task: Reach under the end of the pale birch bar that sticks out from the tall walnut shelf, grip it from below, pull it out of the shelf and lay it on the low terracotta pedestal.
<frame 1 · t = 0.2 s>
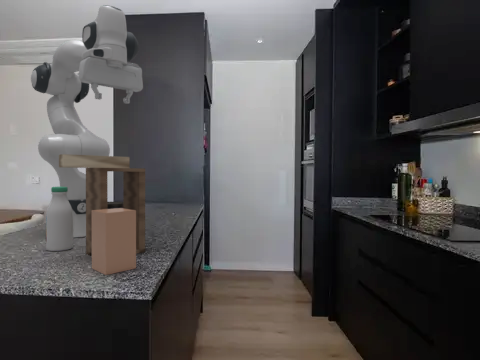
hand: (112, 101, 109), 48 cm above the counter, tool pointing down, fingers open, 8 cm apart
bar: (96, 167, 97), point 26 cm above the counter, touching shelf
shelf: (116, 253, 102), on the counter
pedestal: (113, 268, 86), on the counter
milk bottle: (59, 249, 108), on the counter
coffee can: (110, 243, 118), on the counter
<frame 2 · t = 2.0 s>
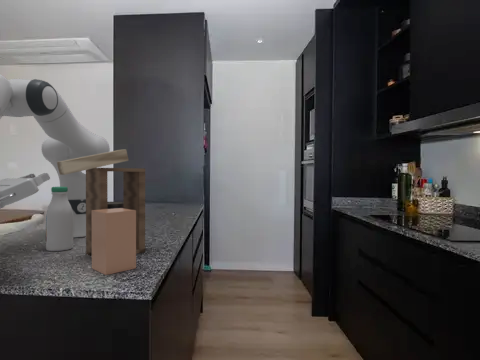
hand: (41, 175, 86), 24 cm above the counter, tool pointing upward, fingers open, 8 cm apart
bar: (96, 167, 97), point 26 cm above the counter, tilted 13°, touching shelf
everything else where it was.
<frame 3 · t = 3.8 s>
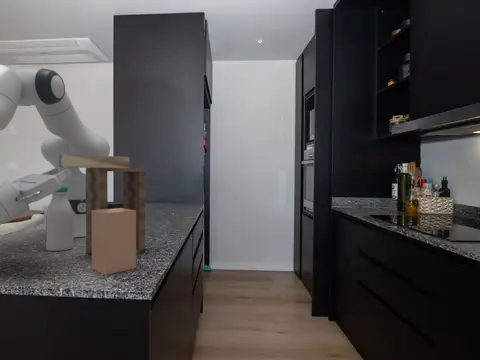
hand: (63, 170, 91), 25 cm above the counter, tool pointing upward, fingers open, 8 cm apart
bar: (96, 167, 97), point 26 cm above the counter, touching shelf
everything else where it was.
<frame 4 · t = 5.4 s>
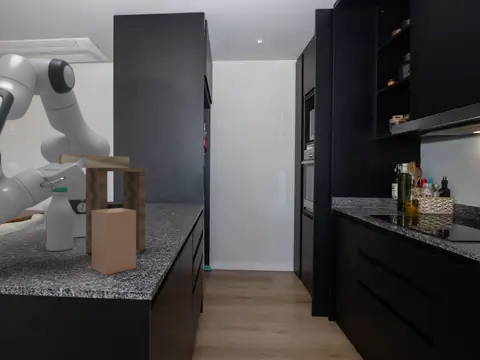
hand: (83, 159, 95), 28 cm above the counter, tool pointing upward, fingers closed on bar, 3 cm apart
bar: (96, 167, 97), point 26 cm above the counter, touching gripper, shelf
everything else where it was.
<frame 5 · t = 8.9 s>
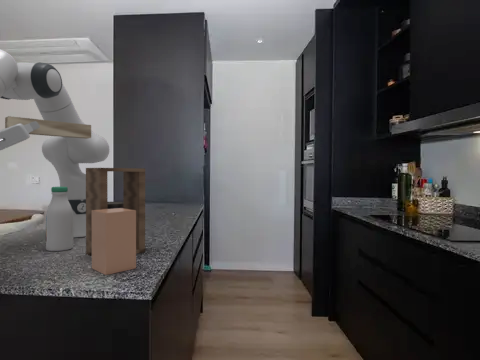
hand: (34, 125, 83), 36 cm above the counter, tool pointing upward, fingers closed on bar, 3 cm apart
bar: (51, 135, 86), point 34 cm above the counter, touching gripper
everything else where it was.
when the fingers open (19 cm above the counter, at t = 12.3 s): bar drops 2 cm, resting on pedestal.
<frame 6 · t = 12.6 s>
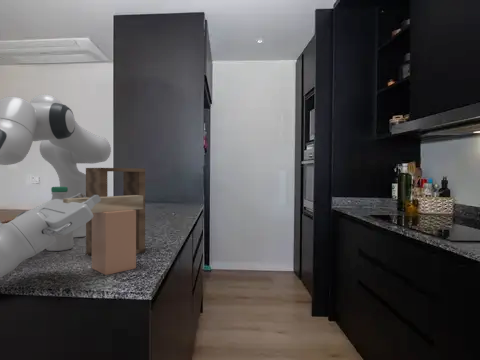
hand: (91, 196, 82), 19 cm above the counter, tool pointing upward, fingers open, 7 cm apart
bar: (105, 211, 84), point 15 cm above the counter, touching pedestal
everything else where it was.
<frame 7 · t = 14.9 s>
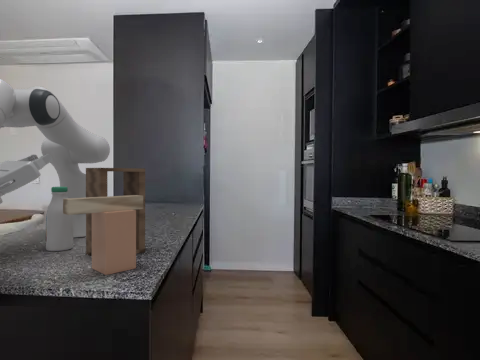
hand: (43, 157, 78), 28 cm above the counter, tool pointing upward, fingers open, 8 cm apart
nothing on the counter moved.
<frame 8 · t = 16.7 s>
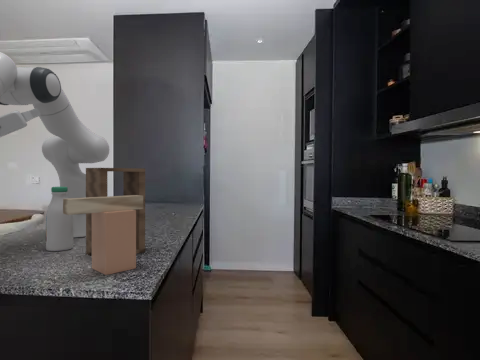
hand: (32, 114, 79), 38 cm above the counter, tool pointing upward, fingers open, 8 cm apart
nothing on the counter moved.
at the end: bar inside the target area on the pedestal (1.1 cm from its centre), point 15.0 cm above the pedestal's base; bar tilted 0°; the gripper is holding nothing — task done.
